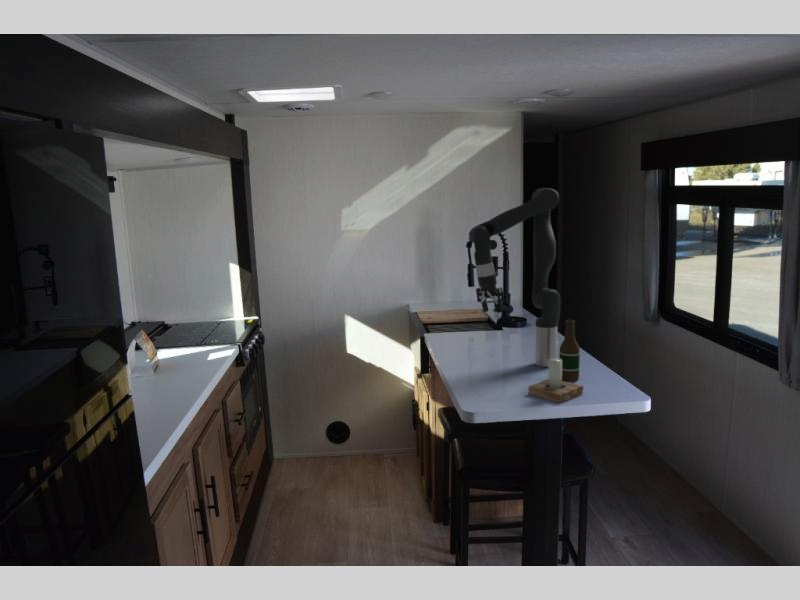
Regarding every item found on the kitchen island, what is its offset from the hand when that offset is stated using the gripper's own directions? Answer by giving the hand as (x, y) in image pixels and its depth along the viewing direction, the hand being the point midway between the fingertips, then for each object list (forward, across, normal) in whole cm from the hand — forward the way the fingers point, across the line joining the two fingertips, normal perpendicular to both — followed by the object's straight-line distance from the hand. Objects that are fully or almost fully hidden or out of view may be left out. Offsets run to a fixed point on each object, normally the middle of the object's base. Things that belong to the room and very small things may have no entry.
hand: (492, 312), depth 256 cm
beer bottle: (+30, -26, -10) cm, 41 cm away
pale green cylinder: (+28, -35, +8) cm, 46 cm away
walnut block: (+28, -36, +8) cm, 46 cm away
